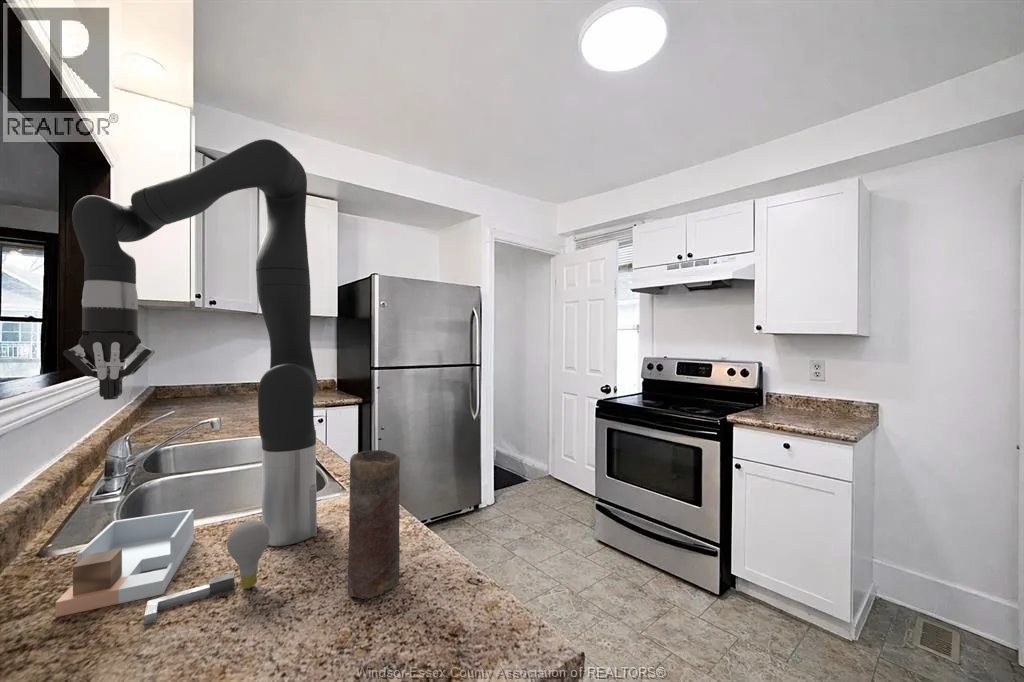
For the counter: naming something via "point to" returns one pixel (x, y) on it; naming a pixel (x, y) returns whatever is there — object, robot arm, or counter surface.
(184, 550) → the cubby
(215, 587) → the hook tool
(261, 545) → the light bulb
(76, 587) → the walnut cube
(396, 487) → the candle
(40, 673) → the counter surface
